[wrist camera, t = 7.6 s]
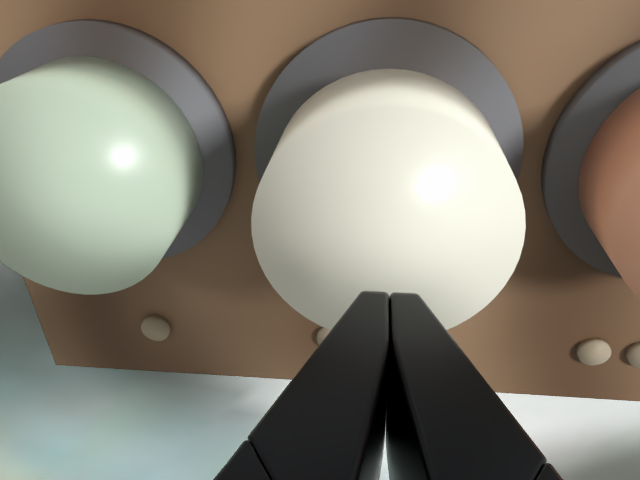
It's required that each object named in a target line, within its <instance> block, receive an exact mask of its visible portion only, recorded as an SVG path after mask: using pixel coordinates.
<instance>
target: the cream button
mask: <svg viewBox="0 0 640 480" xmlns="http://www.w3.org/2000/svg"><path fill="white" fill-rule="evenodd" d="M525 229H526V222H525V208H524V203H523V198H522V194H521V191H520V189H519V186H518V183H517V181H516V178H515V176H514V174H513V172H512V170H511V168H510V166H509V164H508V162H507V160H506V157H505V155H504V153H503V151H502V149H501V147H500V145H499V143H498V141H497V139H496V137H495V134H494V132H493V130H492V129H491V127H490V125H489V123H488V121H487V120H486V118H485V117H484V115H483V114H482V113H481V111H480V110H479V109H478V108H477V106H476V105H475V104H474V103H473V102H472V101H471V100H470V99H469V98H468V97H466V96H465V95H464V94H463V93H461V92H460V91H459V90H457V89H456V88H454V87H453V86H451V85H449V84H447V83H446V82H444V81H442V80H440V79H438V78H435V77H432V76H429V75H427V74H424V73H420V72H415V71H410V70H403V69H375V70H369V71H364V72H359V73H355V74H352V75H349V76H346V77H343V78H341V79H339V80H337V81H335V82H333V83H331V84H329V85H327V86H325V87H324V88H322V89H321V90H319V91H318V92H316V93H315V94H314V95H313V96H311V97H310V98H309V99H308V100H307V101H306V102H305V103H304V104H303V105H302V106H301V107H300V108H299V109H298V110H297V112H296V113H295V114H294V115H293V117H292V118H291V120H290V121H289V123H288V125H287V126H286V128H285V130H284V132H283V134H282V136H281V138H280V141H279V143H278V145H277V147H276V149H275V151H274V153H273V155H272V158H271V160H270V162H269V164H268V166H267V168H266V170H265V172H264V175H263V177H262V179H261V181H260V183H259V186H258V188H257V191H256V195H255V198H254V202H253V208H252V216H251V230H252V239H253V245H254V249H255V252H256V255H257V259H258V262H259V264H260V266H261V268H262V270H263V272H264V274H265V276H266V278H267V279H268V281H269V282H270V284H271V285H272V287H273V288H274V289H275V290H276V292H277V293H278V294H279V295H280V296H281V297H282V298H283V300H285V301H286V302H287V303H288V304H289V305H290V306H291V307H292V308H293V309H294V310H296V311H297V312H299V313H300V314H301V315H303V316H304V317H306V318H307V319H309V320H311V321H312V322H314V323H316V324H318V325H320V326H322V327H324V328H326V329H329V330H332V328H333V327H334V326H335V324H336V323H337V322H338V321H339V319H340V318H341V317H342V315H343V314H344V313H345V312H346V310H347V309H348V308H349V306H350V305H351V304H352V303H353V301H354V300H355V299H356V297H357V296H358V295H359V294H360V293H361V292H362V291H379V292H387V293H388V294H389V298H390V295H391V293H393V292H402V293H417V294H418V295H420V297H421V298H422V299H423V300H424V302H425V303H426V304H427V306H428V307H429V308H430V309H431V311H432V312H433V313H434V315H435V316H436V317H437V318H438V320H439V321H440V322H441V324H442V325H443V326H444V327H445V329H446V330H448V329H450V328H452V327H455V326H457V325H459V324H461V323H462V322H464V321H466V320H468V319H469V318H471V317H472V316H474V315H475V314H477V313H478V312H479V311H481V310H482V309H483V308H484V307H486V306H487V305H488V304H489V303H490V302H491V301H492V300H493V299H494V298H495V297H496V296H497V295H498V293H499V292H500V291H501V290H502V289H503V287H504V286H505V285H506V283H507V282H508V280H509V278H510V277H511V275H512V274H513V272H514V270H515V267H516V265H517V263H518V261H519V259H520V255H521V251H522V248H523V244H524V238H525Z"/></svg>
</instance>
